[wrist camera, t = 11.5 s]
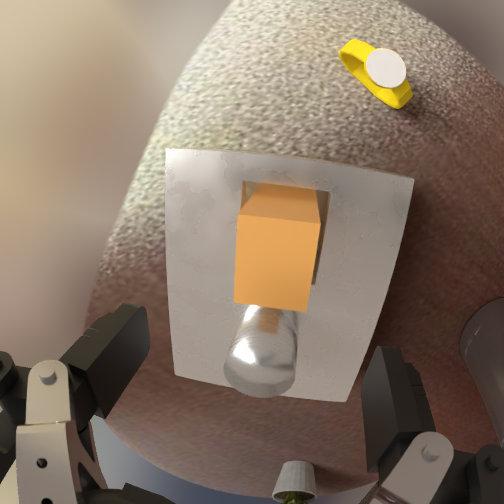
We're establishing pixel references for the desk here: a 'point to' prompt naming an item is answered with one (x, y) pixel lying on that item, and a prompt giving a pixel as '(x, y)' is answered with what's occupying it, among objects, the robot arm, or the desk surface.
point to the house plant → (296, 484)
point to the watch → (378, 71)
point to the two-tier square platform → (323, 280)
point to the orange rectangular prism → (276, 247)
